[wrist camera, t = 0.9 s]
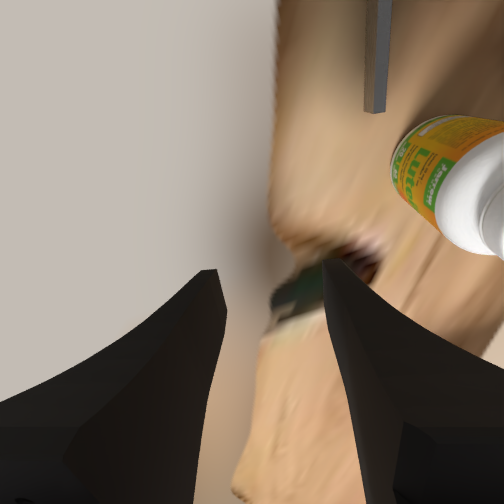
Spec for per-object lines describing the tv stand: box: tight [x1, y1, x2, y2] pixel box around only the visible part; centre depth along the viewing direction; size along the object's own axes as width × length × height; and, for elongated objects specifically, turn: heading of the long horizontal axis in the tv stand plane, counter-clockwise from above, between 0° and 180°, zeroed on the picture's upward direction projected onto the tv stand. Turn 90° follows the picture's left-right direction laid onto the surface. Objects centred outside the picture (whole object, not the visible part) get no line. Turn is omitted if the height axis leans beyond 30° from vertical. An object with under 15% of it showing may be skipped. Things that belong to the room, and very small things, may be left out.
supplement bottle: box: [390, 115, 504, 260], centre depth 14 cm, size 5×5×10 cm
